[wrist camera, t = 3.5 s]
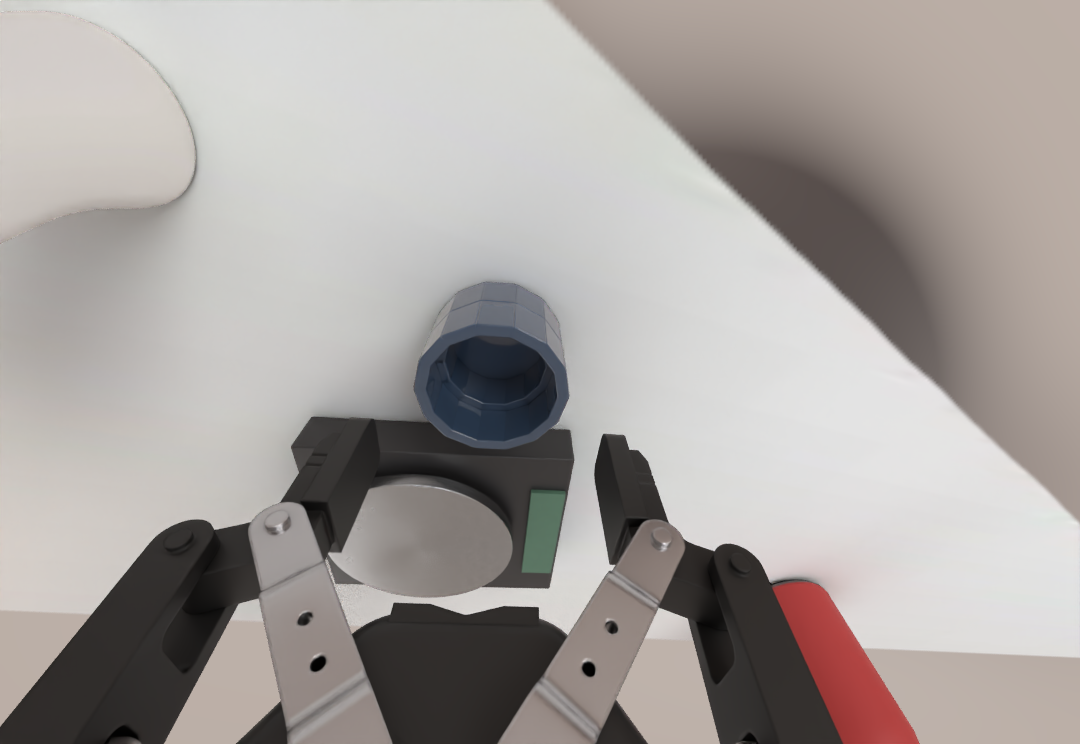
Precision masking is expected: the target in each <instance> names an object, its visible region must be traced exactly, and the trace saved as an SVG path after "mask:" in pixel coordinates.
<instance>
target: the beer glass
mask: <svg viewBox="0 0 1080 744" xmlns="http://www.w3.org/2000/svg"><path fill="white" fill-rule="evenodd" d="M195 162H196V153H195V145H194V140H193V135H192V132H191V129H190V126H189V123H188V121H187V118H186V116H185V114H184V112H183V110H182V108H181V106H180V104H179V102H178V100H177V99H176V97H175V96H174V94H173V92H172V91H171V89H170V88H169V87H168V85H167V84H166V83H165V81H164V80H163V79H162V77H161V76H160V75H159V74H158V73H157V72H156V70H155V69H154V68H153V67H152V66H151V65H150V64H149V63H148V62H147V61H146V60H145V59H144V58H143V57H142V56H141V55H140V54H139V53H137V52H136V51H135V50H134V49H133V48H132V47H130V46H129V45H128V44H126V43H125V42H124V41H122V40H121V39H119V38H118V37H116V36H115V35H113V34H112V33H110V32H108V31H107V30H105V29H103V28H101V27H99V26H97V25H95V24H93V23H91V22H88V21H86V20H83V19H81V18H78V17H75V16H71V15H67V14H63V13H57V12H50V11H5V12H0V244H2V243H4V242H6V241H8V240H10V239H12V238H14V237H16V236H18V235H21V234H23V233H25V232H27V231H29V230H31V229H34V228H36V227H38V226H40V225H43V224H45V223H47V222H49V221H52V220H54V219H57V218H60V217H63V216H67V215H70V214H73V213H78V212H83V211H89V210H99V209H139V208H151V207H157V206H161V205H165V204H167V203H169V202H171V201H173V200H175V199H176V198H178V197H179V196H180V195H181V194H182V193H183V192H184V191H185V190H186V189H187V188H188V186H189V184H190V182H191V180H192V178H193V174H194V170H195Z"/></svg>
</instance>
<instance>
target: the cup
mask: <svg viewBox="0 0 1080 744" xmlns="http://www.w3.org/2000/svg"><path fill="white" fill-rule="evenodd" d="M414 392H415V394H416V397H417V400H418V402H419V405H420V408H421V410H422V413H423V415H424V417H425V418H426V419H427V420H428V421H430V422H431V423H432V424H433V425H434V426H435V427H436V428H437V429H438V430H439V431H440V432H441V433H442V434H443V435H444V436H446V437H448V438H451V439H453V440H456V441H458V442H461V443H463V444H466V445H468V446H471V447H473V448H474V447H475V448H485V449H509V448H513V447H516V446H519V445H523V444H526V443H530V442H533V441H535V440H537V439H538V438H539V437H541V436H542V435H543V434H544V433H546V432H547V431H548V430H549V429H551V428H552V427H553V426H554V425H556V424H557V422H558V421H559V419H560V417H561V415H562V412H563V410H564V408H565V406H566V404H567V401H568V399H569V389H568V380H567V371H566V365H565V358H564V352H563V346H562V339H561V333H560V326H559V322H558V320H557V318H556V317H555V315H554V314H553V313H552V311H551V310H550V308H549V307H548V305H547V304H546V302H545V301H544V300H543V299H542V298H541V297H539V296H537V295H535V294H533V293H532V292H530V291H528V290H526V289H524V288H523V287H521V286H519V285H516V284H510V283H497V282H483V283H480V284H478V285H475V286H472V287H470V288H467V289H464V290H462V291H459V292H458V293H456V294H455V295H454V297H453V298H452V299H451V300H450V301H449V302H448V303H447V304H446V305H445V307H444V308H443V309H442V310H441V311H440V313H439V314H438V317H437V319H436V321H435V324H434V326H433V328H432V331H431V333H430V335H429V337H428V340H427V342H426V344H425V347H424V349H423V351H422V354H421V356H420V358H419V361H418V366H417V371H416V376H415V381H414Z"/></svg>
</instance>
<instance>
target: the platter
mask: <svg viewBox="0 0 1080 744" xmlns="http://www.w3.org/2000/svg"><path fill="white" fill-rule="evenodd" d="M512 551H513V532H512V527H511V524H510V522H509V520H508V517H507V516H506V515H505V513H504V512H503V510H502V509H501V508H500V507H499V506H498V505H497V504H496V503H495V502H494V501H493V500H492V499H490V498H489V497H488V496H486V495H485V494H483V493H482V492H480V491H478V490H476V489H474V488H472V487H470V486H468V485H466V484H463V483H460V482H458V481H455V480H451V479H447V478H444V477H439V476H433V475H425V474H395V475H387V476H382V477H377V478H374V479H373V481H372V483H371V485H370V488H369V490H368V492H367V495H366V497H365V499H364V502H363V504H362V506H361V509H360V511H359V513H358V516H357V518H356V520H355V523H354V525H353V527H352V529H351V532H350V534H349V536H348V539H347V541H346V543H345V546H344V548H343V550H342V553H328V555H329V556H330V558H331V559H332V560H333V561H334V563H335V564H336V565H337V566H338V567H339V568H340V569H342V570H343V571H344V572H345V573H347V574H348V575H350V576H351V577H353V578H354V579H356V580H358V581H360V582H362V583H364V584H366V585H368V586H370V587H373V588H376V589H379V590H382V591H385V592H389V593H393V594H398V595H403V596H411V597H446V596H453V595H458V594H462V593H466V592H469V591H472V590H475V589H478V588H480V587H482V586H484V585H486V584H488V583H489V582H491V581H493V580H494V579H495V578H497V577H498V576H499V575H500V574H501V573H502V572H503V571H504V569H505V568H506V566H507V565H508V563H509V561H510V559H511V556H512Z"/></svg>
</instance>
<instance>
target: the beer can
mask: <svg viewBox="0 0 1080 744" xmlns="http://www.w3.org/2000/svg"><path fill="white" fill-rule="evenodd" d="M771 586H772V588H773V591H774V593H775V595H776V597H777V599H778V602H779V604H780V606H781V608H782V610H783V612H784V615H785V617H786V619H787V621H788V623H789V626H790V628H791V630H792V632H793V634H794V637H795V639H796V641H797V643H798V645H799V648H800V650H801V652H802V654H803V656H804V659H805V661H806V663H807V665H808V667H809V670H810V672H811V674H812V676H813V678H814V680H815V683H816V685H817V687H818V689H819V691H820V694H821V696H822V698H823V700H824V702H825V705H826V707H827V709H828V711H829V713H830V716H831V718H832V720H833V722H834V724H835V727H836V729H837V731H838V733H839V735H840V737H841V740H842V742H843V744H919V741H918V739H917V737H916V735H915V732H914V730H913V729H912V727H911V725H910V724H909V722H908V721H907V719H906V717H905V716H904V714H903V712H902V711H901V710H900V708H899V706H898V704H897V703H896V701H895V700H894V698H893V697H892V695H891V693H890V692H889V690H888V688H887V687H886V685H885V684H884V682H883V681H882V679H881V677H880V676H879V674H878V673H877V671H876V669H875V668H874V666H873V665H872V663H871V661H870V660H869V658H868V657H867V655H866V654H865V652H864V650H863V649H862V647H861V645H860V644H859V642H858V641H857V639H856V637H855V636H854V634H853V633H852V631H851V629H850V628H849V626H848V625H847V623H846V622H845V620H844V618H843V617H842V615H841V614H840V612H839V610H838V609H837V607H836V606H835V604H834V602H833V601H832V599H831V598H830V596H829V594H828V593H827V591H825V590H824V589H823V588H822V587H821V586H820V585H818V584H815V583H812V582H809V581H803V580H792V581H784V582H780V583H777V584H773V585H771Z"/></svg>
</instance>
